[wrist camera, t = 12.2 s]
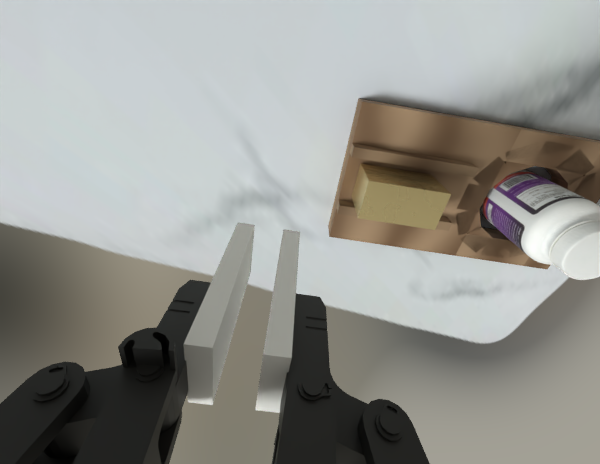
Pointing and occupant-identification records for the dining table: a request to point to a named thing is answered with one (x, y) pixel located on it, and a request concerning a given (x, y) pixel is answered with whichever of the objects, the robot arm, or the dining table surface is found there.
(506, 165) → the dock plate
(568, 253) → the pill bottle
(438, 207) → the bar
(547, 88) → the dining table surface
